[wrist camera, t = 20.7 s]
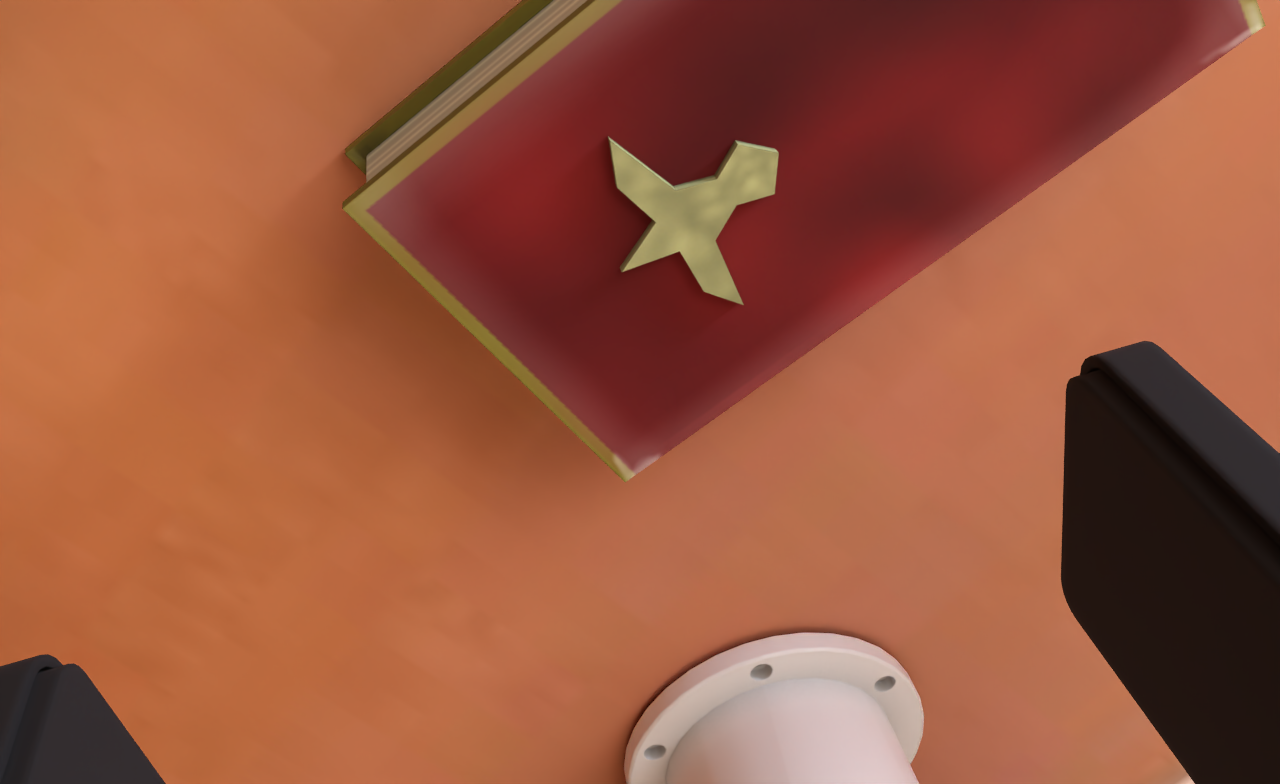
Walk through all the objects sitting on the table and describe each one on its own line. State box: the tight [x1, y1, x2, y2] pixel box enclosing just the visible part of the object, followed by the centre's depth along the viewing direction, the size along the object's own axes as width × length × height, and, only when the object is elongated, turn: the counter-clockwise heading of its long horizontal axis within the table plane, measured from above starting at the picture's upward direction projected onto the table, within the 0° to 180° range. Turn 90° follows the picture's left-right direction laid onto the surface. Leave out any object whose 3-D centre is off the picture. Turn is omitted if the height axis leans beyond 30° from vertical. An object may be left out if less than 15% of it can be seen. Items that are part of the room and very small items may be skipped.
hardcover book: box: [342, 0, 1265, 482], centre depth 30 cm, size 12×21×4 cm, turn 126°
